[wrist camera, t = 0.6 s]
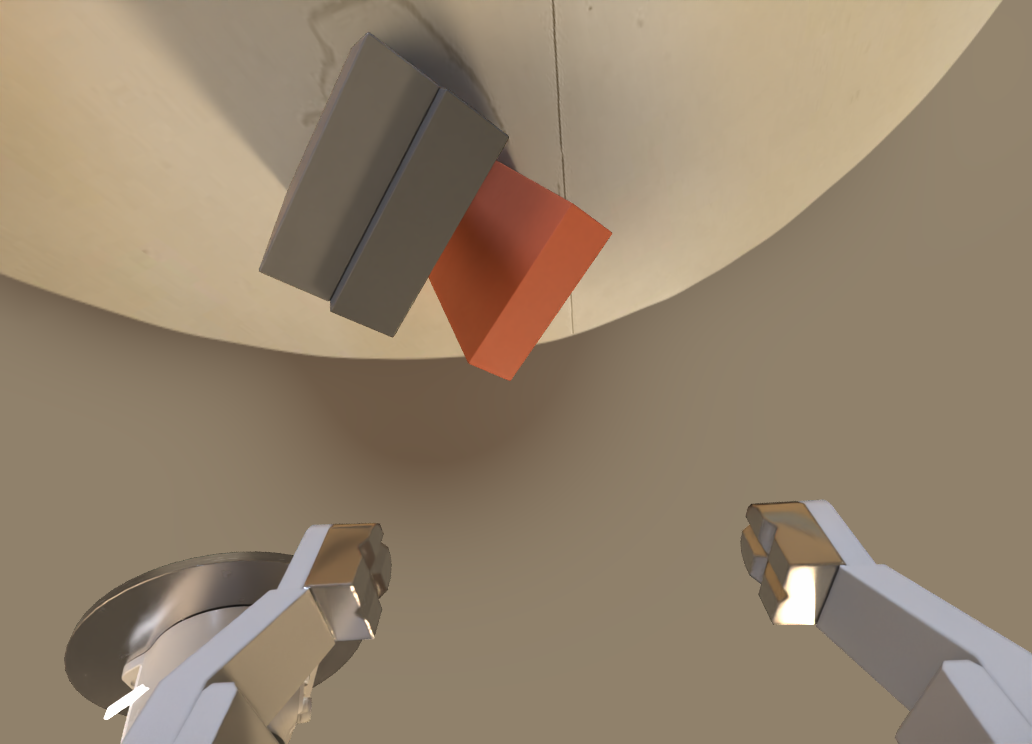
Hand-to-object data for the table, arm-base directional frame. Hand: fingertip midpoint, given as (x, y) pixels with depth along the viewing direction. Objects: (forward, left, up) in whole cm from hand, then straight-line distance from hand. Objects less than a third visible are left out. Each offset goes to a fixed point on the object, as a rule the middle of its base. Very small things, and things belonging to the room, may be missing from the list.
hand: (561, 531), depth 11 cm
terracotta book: (-1, -6, -31) cm, 31 cm away
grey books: (+4, +3, -31) cm, 31 cm away
